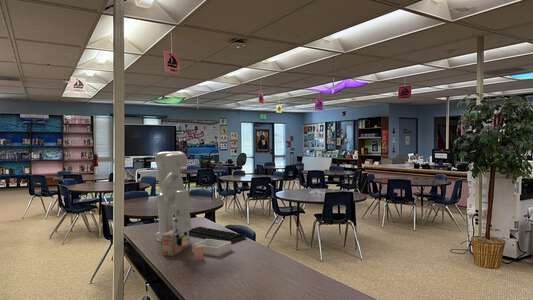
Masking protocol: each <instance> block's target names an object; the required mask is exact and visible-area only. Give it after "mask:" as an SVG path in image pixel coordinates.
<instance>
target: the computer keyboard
mask: <svg viewBox="0 0 533 300" xmlns="http://www.w3.org/2000/svg"><path fill="white" fill-rule="evenodd" d="M189 236H190V237H192V238H198V239H202V240H205V239H213V240H221V241H229V242H231V245H232V244H234V242H235V243H237V241H238V242H241V241H244V240H246V238H247V236H246V235H245V234H242V233H237V232H236V233H235V232H231V231H226V230H220V229H215V228H210V227H203V226H198V227H196V226H195V227H191V230H190V232H189ZM243 239H244V240H243ZM240 240H241V241H240Z"/></svg>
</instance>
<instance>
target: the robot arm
mask: <svg viewBox="0 0 533 300" xmlns="http://www.w3.org/2000/svg"><path fill="white" fill-rule="evenodd" d="M154 159H155V165H156V167H157V170H158V188H159V190H160V191H161V193H158V194H157V196H156V203H157V204H156V205H157V212H158V213H157V214H158V232H156V233H155V236H157V238H156V241H157V242H160V243H162V234H165V233H167V232H169V231H171V230H174V232H173V235H174V236H175V237H176V238H177V245H179V246H181V245H182V238H181V234H182V233H184V235H189V232H190V230H191V229H192V220H191V214H190V209H189V206H190V204H189V203H190V202H189V191H188V189H187V188H186V187H184V180H183V178H182V171H181V168H183V167H187V165H188V163H189V160H188V155H186V153H185V152H183V151H161V152H157V153H156V154H155V158H154ZM170 207H174V211H172V209H171V208H170ZM178 234H179V235H178Z"/></svg>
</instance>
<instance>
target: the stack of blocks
mask: <svg viewBox="0 0 533 300" xmlns="http://www.w3.org/2000/svg"><path fill="white" fill-rule="evenodd" d="M173 232H174V230H171V231H169V232H167V233H165V234H162V242H161V243H162V256H168V257H170V256H171V257H173V256H174V255H176V254H178V253H180V252H181V251H183V250H184V249H186V248H188V247H189V246H191V243H190V242H191V241H190V240H191V239H190V238H191V236H189V244H187V245H185V246H178V245H176V237H175V236H174V235H173ZM182 234H184V233H182ZM178 235H179V234H178Z"/></svg>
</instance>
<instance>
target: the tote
mask: <svg viewBox="0 0 533 300" xmlns="http://www.w3.org/2000/svg"><path fill="white" fill-rule="evenodd" d="M191 246H192V247H191V252H192V254H194V246H203V256H210V257H221V256H223V255H225V254H227V253H228V252H231V251H232V244H231V242H229V241H221V240H213V239H202V240H200V241H197V242H195V243H193V244H191Z"/></svg>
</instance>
